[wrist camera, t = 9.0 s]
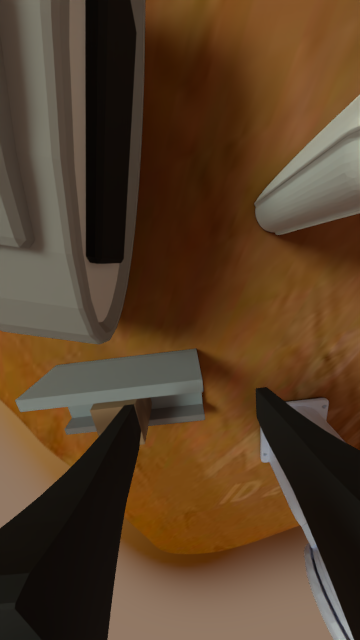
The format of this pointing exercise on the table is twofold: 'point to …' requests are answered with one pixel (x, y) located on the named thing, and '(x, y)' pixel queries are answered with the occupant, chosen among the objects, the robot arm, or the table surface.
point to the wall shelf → (122, 388)
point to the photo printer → (317, 179)
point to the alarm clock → (69, 163)
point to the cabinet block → (109, 410)
